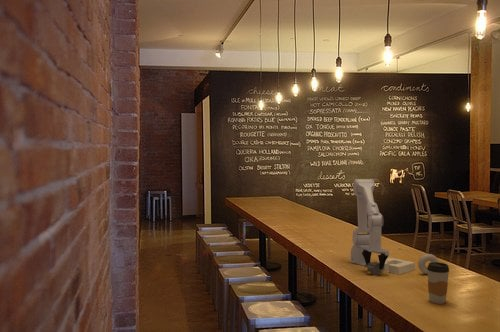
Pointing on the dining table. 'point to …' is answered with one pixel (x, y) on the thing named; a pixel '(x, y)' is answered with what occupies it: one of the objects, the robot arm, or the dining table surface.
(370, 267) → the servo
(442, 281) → the coffee cup
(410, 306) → the dining table surface
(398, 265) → the chassis
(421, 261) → the donut
